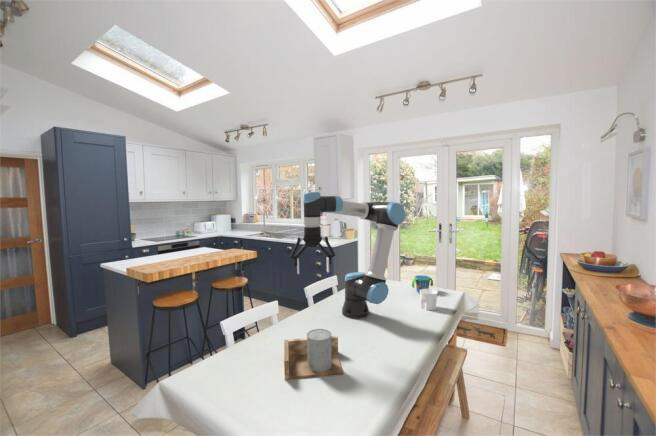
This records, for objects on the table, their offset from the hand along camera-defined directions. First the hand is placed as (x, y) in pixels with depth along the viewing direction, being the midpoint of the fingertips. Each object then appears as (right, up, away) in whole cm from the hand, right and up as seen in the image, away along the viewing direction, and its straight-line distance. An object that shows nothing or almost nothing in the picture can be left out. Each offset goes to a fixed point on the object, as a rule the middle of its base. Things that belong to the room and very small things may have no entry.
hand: (313, 272), depth 140 cm
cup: (+66, -28, +41) cm, 82 cm away
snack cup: (+72, -26, +70) cm, 104 cm away
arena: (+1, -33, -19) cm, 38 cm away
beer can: (+3, -33, -20) cm, 39 cm away
